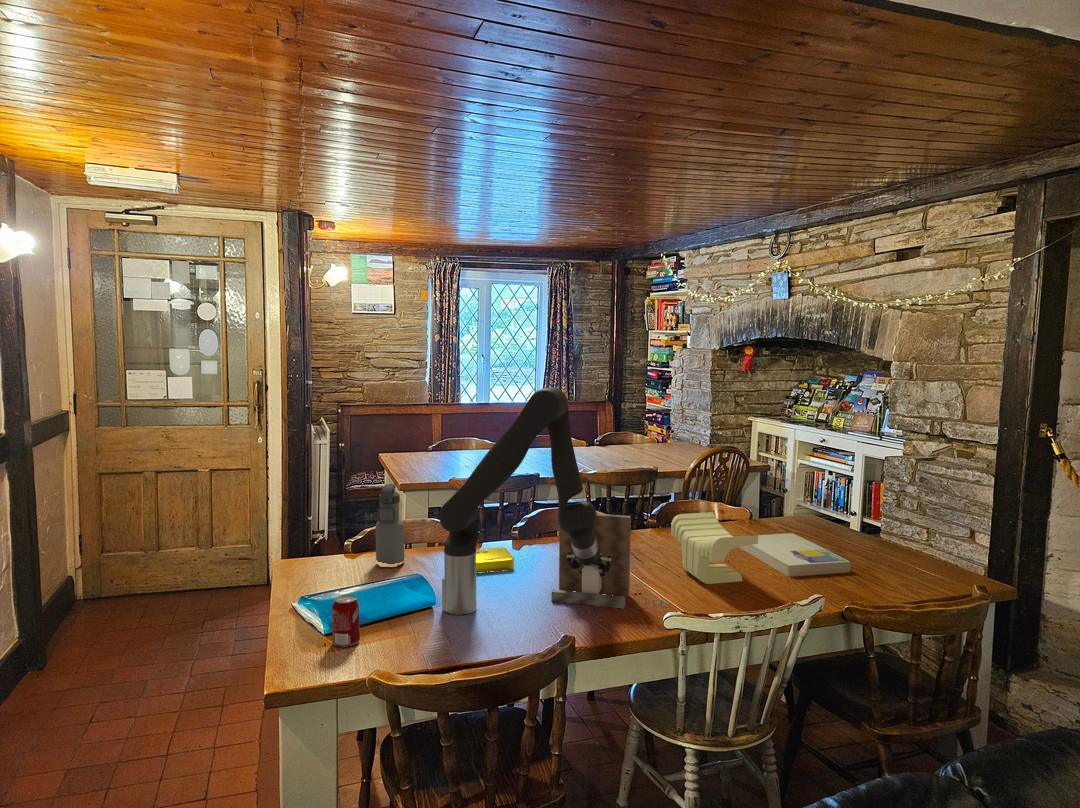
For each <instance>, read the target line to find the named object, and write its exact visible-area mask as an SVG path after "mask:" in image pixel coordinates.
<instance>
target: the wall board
mask: <svg viewBox="0 0 1080 808" xmlns="http://www.w3.org/2000/svg"><path fill="white" fill-rule="evenodd" d="M596 515H597V519H596V525H595V528H594V533H595V536H596V538H597V542H598V546H599V550H600V553H602V556H603V557H605V558H606V557H608V556H611V557H612V559H611V565H610V569H609V572H605V575H604V576H603V577H602V588H601V590H600V592H599V594H593V593H583V592H582V574H580V571H579V570H578V568H576V569H572V567H571V566H570V565H569V564H568V562H567V561H566V558H567V553H568V552H569V553H571V554H572V555H574V552H573V549H572V544H571V539H570V536H569V532H565V531H563V530H562V529H561V528H560V527H559V533H558V534H559V536H558V539H559V547H558V548H559V550H558V551H559V554H558V555H559V556H558V557H559V559H558V566H559V567H558V589H552V590H551V602H553V601H556V602H555V603H562V602H566V603H565V604H571V603H576V604H575V605H580V604H585V605H584V606H590V605H595V606H594V607H599V606H604V607H603V608H608V607H613V608H612V609H617V608H621V609H620V610H625V608H626V598H628V597H630V592H631V591H630V589H631V585H630V583H631V581H630V580H631V536H632V532H631V531H632V529H631V528H632V527H631V526H632V525H631V524H632V521H631V520H632V518H631V517H632V516H631V515H624V514H623V515H621V514H606V513H596ZM577 562H578V561H577ZM602 563H603V564H604V565H605V563H604V562H603V561H602ZM573 591H576V592H573ZM602 594H606V595H602ZM612 595H613V596H612ZM622 596H623V597H622Z"/></svg>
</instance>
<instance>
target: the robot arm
mask: <svg viewBox="0 0 1080 808" xmlns="http://www.w3.org/2000/svg"><path fill="white" fill-rule="evenodd" d="M546 428H547V432H548V436H549V440H550V457H551V459H550V460H551V470H552V474H553V478H554V483H555V487H556V492H557V497H558V498H557V499H558V500H557V501H558V502H557V503H558V509H557V523H558V526H559V528H561V529H562V530H563V531H565V532H569V536H570V539H571V544H572V549H573V552H574V555H572V554H571V553H569V552H568V553H567V558H566V561H567V562H568V564H569V565H570V566H571V567H572V569H576V568H578V570H579V571H580V574H582V569H583V568H584V566H593V567H594V568H595V569H596V570H599V574H600V577H603V576H604V575H605V572H609V569H610V565H611V559H612V557H611V556H608V557H606V558H605V557H603V556H602V555H601V554H600V550H599V546H598V542H597V538H596V536H595V533H594V528H595V525H596V519H597V515H596V514H597V510H596V508H595V506H594V505H593V504H592V503H591V502H589V501H583V502H582V501H581V502H577V503H572V504H570V505H568V503H569V501H570V499H571V498H574V497H576V496H578V495H579V494H581V493H582V492H583V490H584V487H583V481H582V478H581V474H580V469H579V465H578V463H577V459H576V453H575V450H574V449H575V448H574V444H573V438H572V431H571V424H570V411H569V402H568V398H567V395H566V394H565V392H564V391H563V390H561V389H560V388H558V387H554V386H553V387H551V386H549V387H545V388H540V389H538V390H536V391H534V393H533V394H532V395H531V396H530V398H529V399H528V401H526V403H525V405H524V407H523V409H522V410H521V411H520V413H519V415H518V416H517V417H516V419H515V421H513V423H512V424H511V425H510V426H509V428H508V429H506V430H505V432H504V433H502V435H501V436H500V437H499V439H497V441H495V443H494V444H493V445H492V446H491V448H490V449H489V450H488V451H487V452H486V454H485V455H484V457H482V459H481V460H480V462H479V463H478V465H476V467H475V469H473V471H472V472H471V474H470V475H469V476H468V478H467V479H466V481H465V482H464V483H463V484H462V486H461V487H460V488H459V489H458V490H457V491H456V492H455V493H454V494H453V495H452V496H451V497H450V498H449V499H448V500H447V501H446V502H445V503H444V504H443V505H442V506H441V508H440V511H439V516H438V517H439V523H440V525H441V527H442V528H443V529H444V530H445V531H448V532H449V533H448V536H447V538H446V540H445V542H444V546H443V547H444V548H443V550H444V551H443V553H444V554H443V555H444V557H443V558H444V562H443V563H444V576H443V578H442V579H441V612H445V611H446V612H445V613H447V614H449V613H450V614H449V615H453V614H454V615H455V616H464V615H463V614H465V615H469V613H470V614H472V613H474V612H476V610H477V574H476V549H477V545H478V542H479V536H480V533H479V532H480V510H479V507H480V506H481V504H482V503H484V501H485V500H486V499H487V498H489V496H491V495H492V494H494V492H495V491H497V490H498V489H500V488H501V486H502V485H504V484H505V483H506V482H507V481H508V480H509V479H510V478H511V477H512V475H513V474H514V473H515V472H516V471H517V469H518V468H519V467H520V466H521V464H522V462H523V461H524V459H525V458H526V455H527V453H528V451H529V449H530V447H531V446H532V444H533V442H534V441H535V439H536V438H537V437H538V436H539V435H540V434H541V433H542V432H543V431H544V430H545V429H546ZM577 561H578V562H577ZM602 561H603V562H604V563H605V565H604V564H603V563H602Z"/></svg>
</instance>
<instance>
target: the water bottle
mask: <svg viewBox="0 0 1080 808" xmlns="http://www.w3.org/2000/svg"><path fill="white" fill-rule="evenodd" d="M395 490H396V484H395V483H386V484H385V485H384V486H383V487H382V489H381V493H380V494H379V495H378V498H379V502H378V503H379V508H378V509H377V513H376V514H377V515H376V516H377V522H376V523H375V561H376V560H377V561H378V562H382V563H387V564H395V563H400V562H403V561H404V559H405V524H404V523H405V522H404V521H403V520H402V519H400V503H401V502H400V498H401V497H400V496H401V495H400V493H399V492H397V491H395ZM404 562H405V561H404Z"/></svg>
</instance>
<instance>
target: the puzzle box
mask: <svg viewBox="0 0 1080 808" xmlns="http://www.w3.org/2000/svg"><path fill="white" fill-rule="evenodd" d="M737 537H739V535H738V536H737ZM739 548H740V549H741V550H743V551H744V552H746V553H748V554H750V555H752V556H753V557H754V558H756V559H758V560H759V561H761V562H763V563H765V564H766V565H768V566H770V567H771V568H773V569H775V570H777V571H778V572H780V573H782V574H783V575H785V576H787V577H790V578H791V577H803V576H806V577H807V576H817V575H818V576H819V575H831V574H845V573H846V574H847V573H851V561H850V560H848V559H846V558H843V557H842V556H840V555H838V554H835V553H834V552H832V551H830V550H829V549H826V548H825V547H822V546H820V545H818V544H816V543H814V542H812V541H810V540H808V539H805V538H803V537H801V536H799V535H798V534H795V533H793V532H788V533H773V534H758V544H752V545H745V546H740V547H739Z"/></svg>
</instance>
